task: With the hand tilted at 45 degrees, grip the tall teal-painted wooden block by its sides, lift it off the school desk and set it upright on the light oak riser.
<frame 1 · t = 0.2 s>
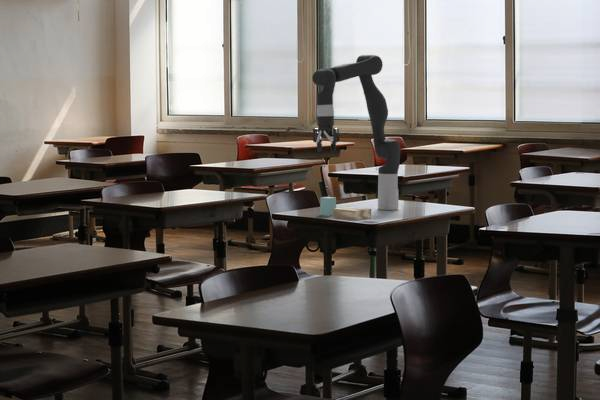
hand: (326, 151, 444), 29 cm above the table, tool pointing down, fingers open, 8 cm apart
teal block: (328, 215, 452), on the table
oak riser: (352, 217, 443), on the table
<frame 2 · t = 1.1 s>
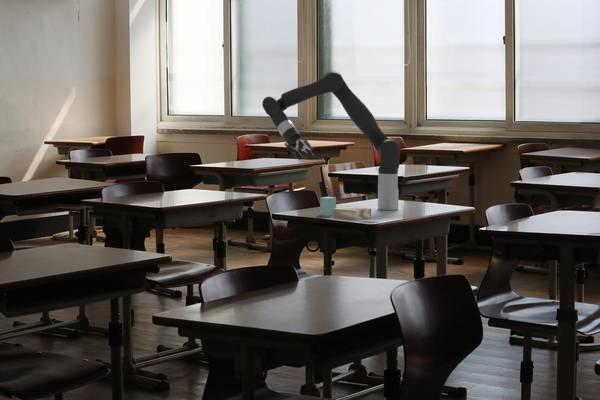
hand: (307, 158, 458), 25 cm above the table, tool tilted 45°, fingers open, 8 cm apart
nothing on the table moved.
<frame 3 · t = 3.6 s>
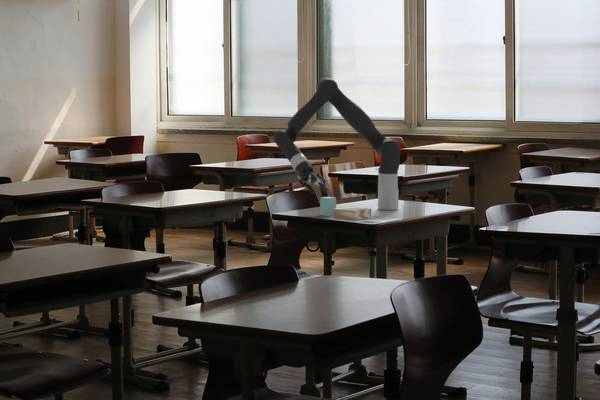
hand: (319, 192, 455), 10 cm above the table, tool tilted 45°, fingers open, 8 cm apart
nothing on the table moved.
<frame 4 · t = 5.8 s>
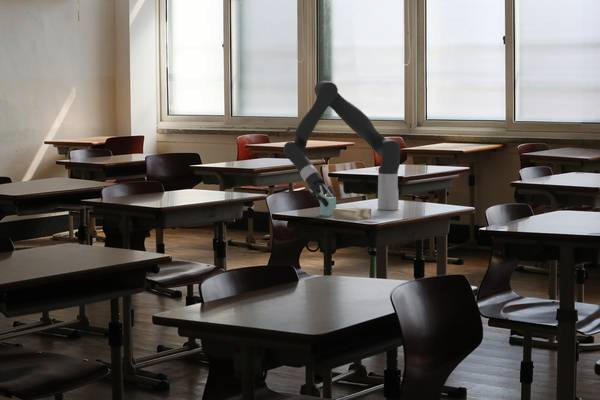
hand: (331, 205, 450), 5 cm above the table, tool tilted 45°, fingers closed on teal block, 5 cm apart
teal block: (328, 215, 452), on the table, touching gripper
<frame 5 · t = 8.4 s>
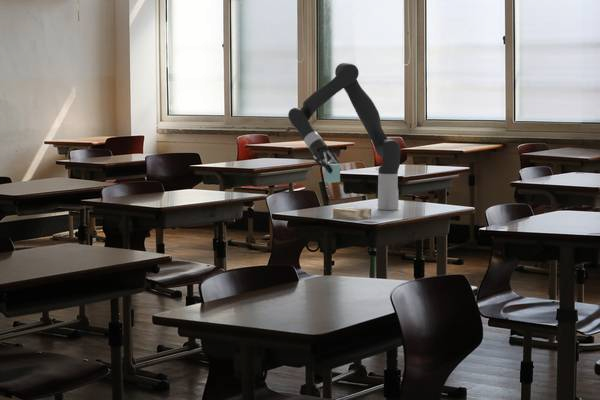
hand: (335, 171, 448), 20 cm above the table, tool tilted 45°, fingers closed on teal block, 5 cm apart
teal block: (332, 181, 449), point 15 cm above the table, touching gripper
when the fingers open (10 cm above the table, at t = 11.4 s): teal block drops 1 cm, resting on oak riser.
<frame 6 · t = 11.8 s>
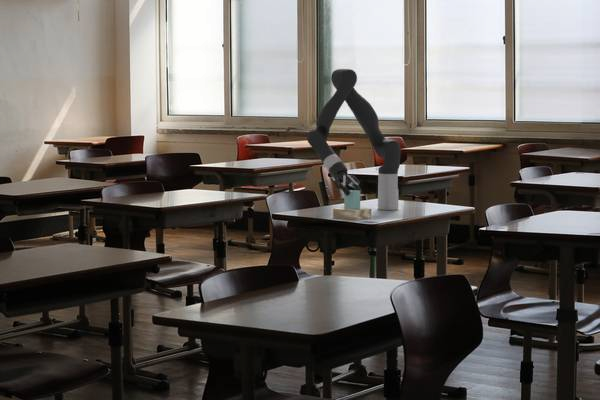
hand: (354, 194, 441), 11 cm above the table, tool tilted 45°, fingers open, 8 cm apart
teal block: (352, 208, 442), point 4 cm above the table, touching oak riser
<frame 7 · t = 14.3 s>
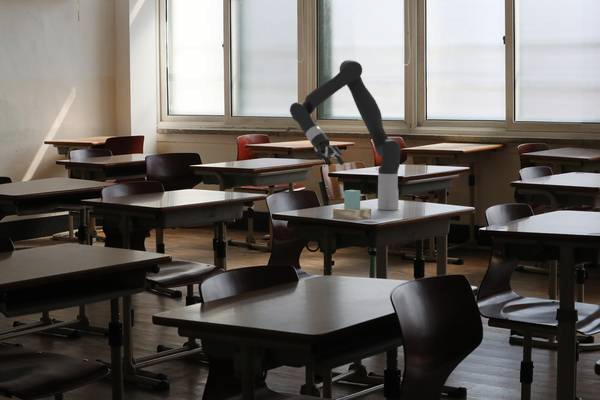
hand: (336, 164, 451), 23 cm above the table, tool tilted 45°, fingers open, 8 cm apart
nothing on the table moved.
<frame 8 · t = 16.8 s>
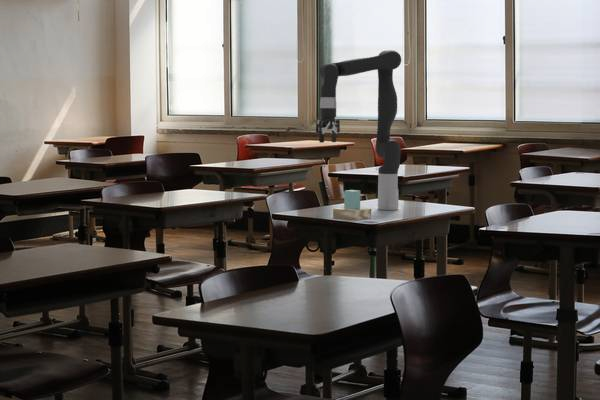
hand: (327, 142, 465), 32 cm above the table, tool pointing down, fingers open, 8 cm apart
nothing on the table moved.
at the end: teal block inside the target area on the oak riser (0.0 cm from its centre), point 4.0 cm above the oak riser's base; teal block tilted 0°; the gripper is holding nothing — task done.
